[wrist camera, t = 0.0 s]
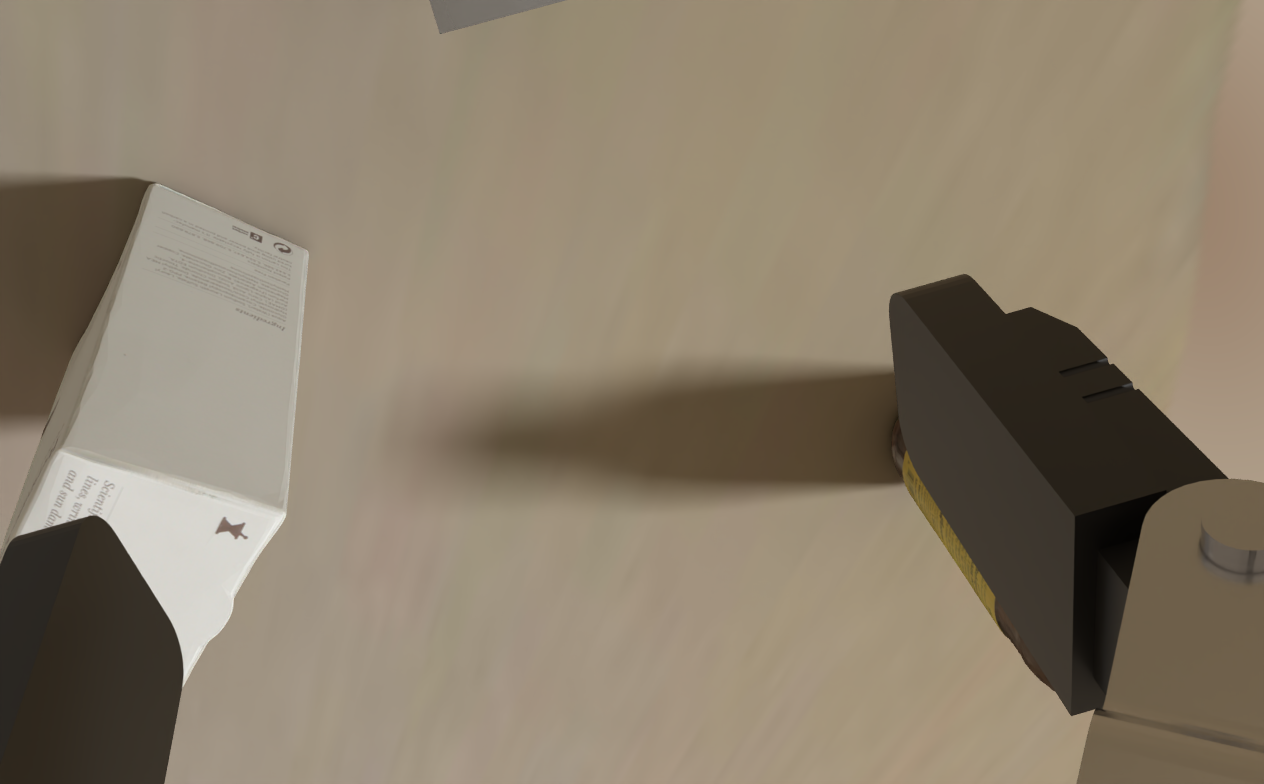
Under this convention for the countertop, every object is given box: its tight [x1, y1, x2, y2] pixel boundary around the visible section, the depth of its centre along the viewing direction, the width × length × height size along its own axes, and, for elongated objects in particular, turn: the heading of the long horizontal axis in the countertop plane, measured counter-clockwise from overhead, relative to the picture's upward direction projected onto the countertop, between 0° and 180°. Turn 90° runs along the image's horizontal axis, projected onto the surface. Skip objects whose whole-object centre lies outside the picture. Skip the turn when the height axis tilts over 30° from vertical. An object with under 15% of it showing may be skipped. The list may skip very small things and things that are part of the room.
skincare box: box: [0, 183, 309, 688], centre depth 36 cm, size 8×6×15 cm
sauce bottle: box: [892, 418, 1103, 709], centre depth 43 cm, size 6×6×20 cm
